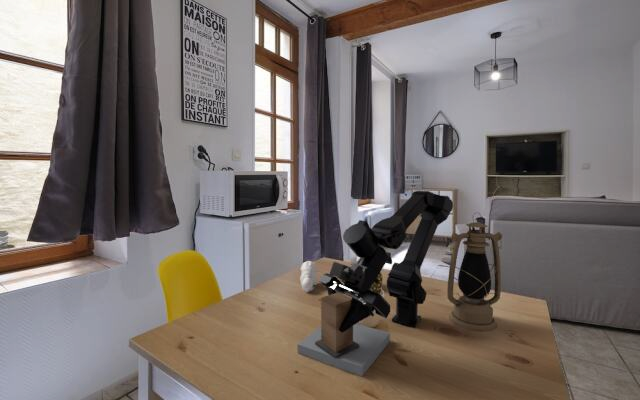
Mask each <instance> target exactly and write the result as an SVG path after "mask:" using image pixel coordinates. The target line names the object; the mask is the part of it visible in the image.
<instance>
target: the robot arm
mask: <svg viewBox="0 0 640 400" xmlns="http://www.w3.org/2000/svg"><path fill="white" fill-rule="evenodd" d="M453 209H454V202H453V200H452V199H451V198H450V197H449V195H440V194H436V193H433V192H432V191H429V190H415V191H413V192H412V194H411V196H410V197H409V198H408V200H406V202H404V204H402V205H401V206H400V207H399V208H398V210H396V212H394V213H393V215H391V216H390V217H389V216H388V217H387V218H383V219H381V220H379V221H378V222H376V223H375V224H374V225H373V226H372V228H371V227H370V225H369V223H368V221H366V220H361V219H359V220H358V222H357V223H355V224H352V225H351V226H348V228H346V229H345V230H344V232H343V234H342V235H343V236H342V239H343V242H344V243H345V244H346V245H347V246H348V247H349V249H350V250H351V251H352V252H353V253H354V254H355V256H356V257H357V256H358V257H360V259H359V261H358V262H357V264H356V263H355V262H352V263H350V265H349V266H348V265H345V264H343V263H341V262H337V261H333V262H332V266H331V269H330V271H329V273H328V272H326V273H323V274H322V275H321V277H320V278H319V280H318V282H319V283H320V284H322V286H323V287H324V288H325V289H326V290H327V296H328V295H331V294H334V293H338V292H339V293H341V294H343V295H345V296H348V297H350V298H352V301H351V308H350V310H349V311H348V313H347V315H346V317H345V318H344V320H343V322H342V324H341V326H340V328H339V331H340V332H342V333H343V332H344V331H346V330H347V329H349V328H350V327H352V326H353V325H355V324H359V322H361V321H363V320H365V319H367V318H369V317H374V316H375V315H378V316H379V317H382V318H384V319H387V318H388V317H389V315H390V313H391V304H390V303H389V302H388V301H387V300H386V299H385V297H383V296H382V295H381V294H380V293H377V292H375V291H373V290H372V289H371V287H372V285H373V284H377V285H378V284H379V282H380V280H379V279H378V277H379V275H380V273H381V272H382V270H383V268H384V266H385V265H386V264H388V265H391V269H390V271H389V273H388V274H387V279H386V287H387V292H388V295H389V297H393V298H396V299H395V314H394V316H393V317H392V318H391V322H393V323H398V324H401V325H405V326H409V327H413V328H414V327H416V326H417V325H418V323H419V322H420V321H421V320H422V316H421V315H418V312H419V311H418V310H419V309H418V307H419V305H423V304H424V302H425V301H426V298H427V291H426V290H425V289H424V287H423V286H422V282H423V278H422V277H423V276H422V273H421V267H422V265H423V263H424V262H425V261H424V260H425V259H426V256H427V253H428V250H429V248H430V245H431V243H432V241H433V238H434V235H435V234H436V231H437V229H438V227H439V225H441V224H442V223H443V222H445V221H447V219H448V217H449V216H450V214H451V212H452V211H453ZM419 216H420V217H421V218H420V221H419V223H418V226H417V227H416V230H415V232H414V235H413V237H412V239H411V241H410V244H409V246H408V248H407V251H406V253H405V256H404V258H403V260H401V262H394V263H393V259H392V254H391V252H389V251H386V249H391V250H397V249H399V248H400V247H401V246H402V244H403V243H404V241H405V239H406V238H407V230H408V228H409V227H410V226H411V225H413V224H412V223H413V222H415V221H416V219H417V218H418V217H419ZM385 248H386V249H385ZM374 311H375V314H374Z"/></svg>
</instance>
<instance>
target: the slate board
mask: <svg viewBox="0 0 640 400" xmlns="http://www.w3.org/2000/svg"><path fill="white" fill-rule="evenodd" d="M319 340H321V326H319V327H318V328H316V329H315V330H314V331H313V332H311V333H310V334H309V335H307V336H306V337H305V338H304V339H302V340H301V341H300V342H298V343H297V345H296V346H297V347H296V348H297V353H298V354H300V355H302V356H306V357H308V358H311V359H313V360H316V361H319V362H321V363H324V364H327V365H329V366H332V367H335V368H338V369H341V370H344V371H346V372H349V373H352V374H353V375H356V376H360V377H363V376H364V374H366V372H367V371H368V370H369V369H370V367H371V366H372V364H374V362H375V360H377V358H378V357H379V356H380V354H382V352H383V350H384V349H385V348H386V347H387V346H388V344H389V343H390V342H391V332H388V331H384V330H381V329H377V328H373V327H370V326H366V325H361V324H359V323H356V324H355V325H353V341H354V342H356V343H357V344H359V348H357V349H355V350H353V351H351V352H348V353H346V354H344V355H342V356H340V357H338V358H336V359H335V358H334V357H332V356H331V355H329V354H328V353H327V352H325V351H324V350H322V349H321V348H320V347H318V346H317V345H315V342H316V341H319Z"/></svg>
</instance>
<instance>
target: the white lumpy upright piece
mask: <svg viewBox="0 0 640 400" xmlns="http://www.w3.org/2000/svg"><path fill="white" fill-rule="evenodd" d="M299 270H300V271H301V272H300V273H301V275H300V277H299V281H300V285H301V286H300V288H301V290H302V291H304V292H306V293H309V292H312V291H313V290H314V286H317V285H318V283H317V281H318V278H317V273H318V271H319V270H318V266H317V265H316V263H315V262H314V261H311V260H306V261H305V262H303V263H302V264H301V266H300V269H299Z"/></svg>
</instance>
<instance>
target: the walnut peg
mask: <svg viewBox="0 0 640 400" xmlns="http://www.w3.org/2000/svg"><path fill="white" fill-rule="evenodd" d="M320 301H321V302H320V305H321V307H320V309H321V311H320V314H321V315H320V316H321V323H320V325H321V326H320V327H321V340H319V341H316V342H315V345H317V346H318V347H320V348H321V349H322V350H324V351H325V352H327V353H328V354H329V355H331V356H332V357H334V358H335V359H336V358H338V357H340V356H342V355H344V354H346V353H348V352H351V351H353V350H355V349H357V348H359V344H357V343H356V342H354V341H353V326H352V327H350V328H349V329H347V330H346V331H344V332H343V333H342V332H340V331H339V328H340V326H341V324H342V322H343V320H344V318H345V317H346V315H347V313H348V311H349V310H350V308H351V301H352V297H350V296H348V295H346V294H341V293H339V292H338V293H334V294H331V295H328V294H327V295H326V296H322V297H321V298H320Z"/></svg>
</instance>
